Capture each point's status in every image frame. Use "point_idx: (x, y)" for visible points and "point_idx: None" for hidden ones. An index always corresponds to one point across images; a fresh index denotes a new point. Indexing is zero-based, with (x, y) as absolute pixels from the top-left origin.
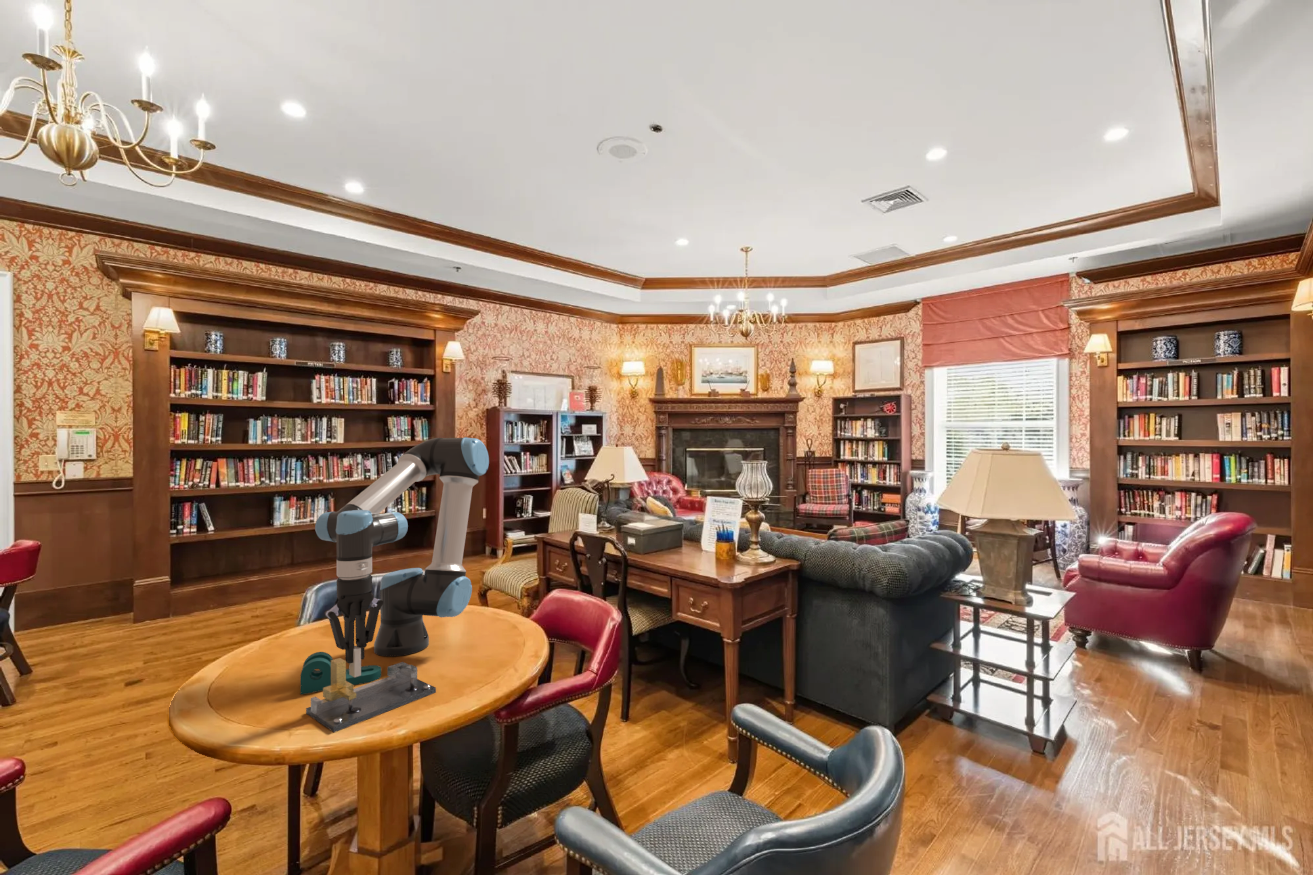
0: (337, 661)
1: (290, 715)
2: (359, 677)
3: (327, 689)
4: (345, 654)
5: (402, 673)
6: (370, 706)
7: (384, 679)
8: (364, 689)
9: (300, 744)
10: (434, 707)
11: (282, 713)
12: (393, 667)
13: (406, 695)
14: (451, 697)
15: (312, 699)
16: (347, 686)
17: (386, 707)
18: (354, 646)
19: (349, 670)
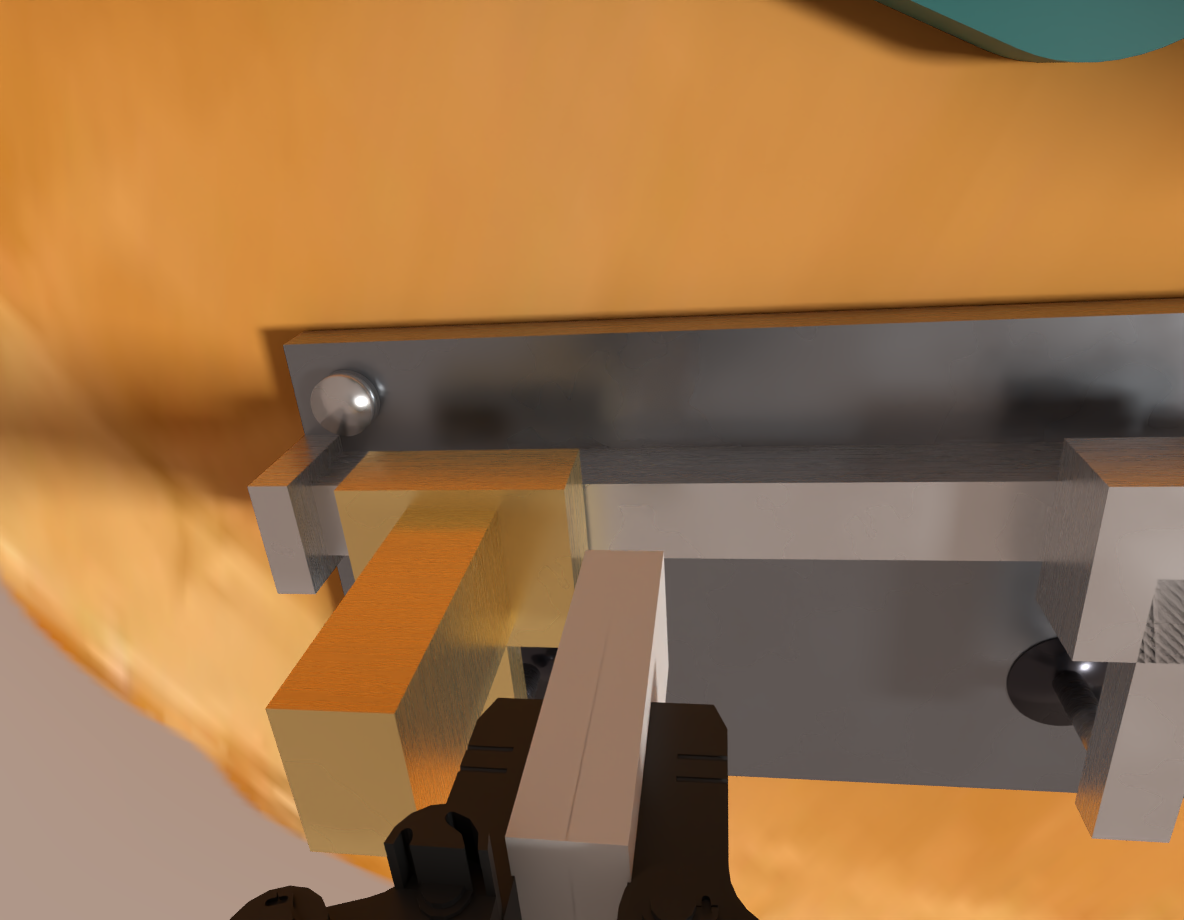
0: (334, 801)
1: (199, 263)
2: (930, 10)
3: (361, 556)
4: (449, 798)
5: (1108, 676)
6: (666, 697)
7: (968, 513)
8: (717, 552)
9: (223, 712)
10: (979, 911)
11: (144, 163)
12: (1133, 561)
13: (950, 742)
14: (1163, 895)
15: (258, 518)
16: (524, 638)
17: (743, 769)
18: (595, 864)
19: (577, 587)
